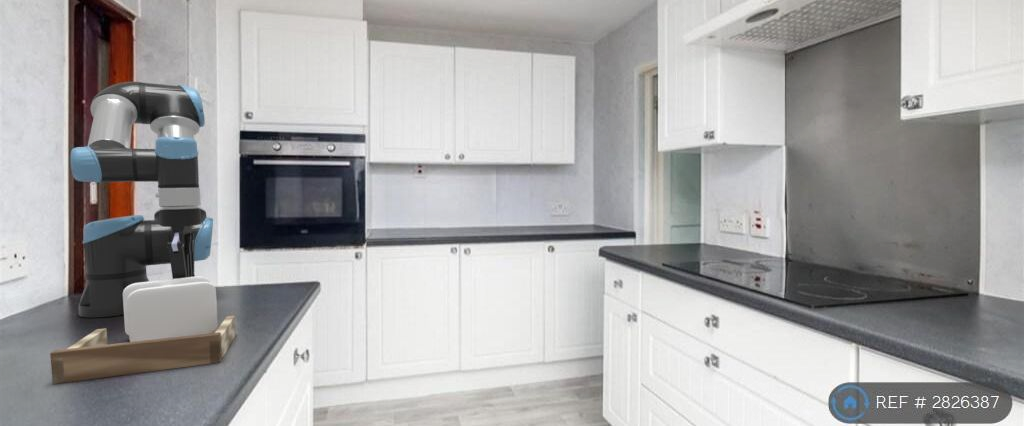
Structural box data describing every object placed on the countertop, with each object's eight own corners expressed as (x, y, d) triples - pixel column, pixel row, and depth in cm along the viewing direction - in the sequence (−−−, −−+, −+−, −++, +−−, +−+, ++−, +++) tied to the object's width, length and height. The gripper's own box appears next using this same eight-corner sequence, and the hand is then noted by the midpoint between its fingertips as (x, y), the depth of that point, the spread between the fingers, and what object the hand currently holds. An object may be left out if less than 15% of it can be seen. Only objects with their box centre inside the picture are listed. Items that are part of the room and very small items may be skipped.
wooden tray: (97, 349, 90) (96, 324, 90) (235, 334, 99) (234, 311, 99) (52, 384, 75) (50, 353, 75) (220, 362, 84) (218, 334, 83)
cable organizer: (124, 353, 88) (120, 292, 87) (126, 339, 96) (122, 282, 96) (218, 337, 97) (215, 281, 96) (212, 324, 106) (209, 273, 105)
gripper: (168, 207, 109) (174, 308, 110) (149, 209, 97) (156, 322, 98) (206, 206, 112) (211, 304, 113) (193, 208, 100) (199, 318, 101)
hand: (186, 313), depth 106 cm, fingers closed
